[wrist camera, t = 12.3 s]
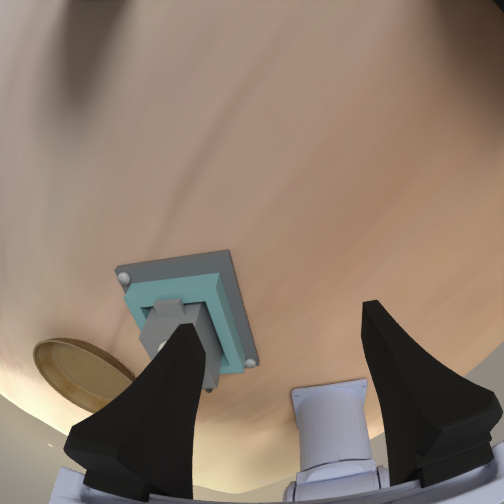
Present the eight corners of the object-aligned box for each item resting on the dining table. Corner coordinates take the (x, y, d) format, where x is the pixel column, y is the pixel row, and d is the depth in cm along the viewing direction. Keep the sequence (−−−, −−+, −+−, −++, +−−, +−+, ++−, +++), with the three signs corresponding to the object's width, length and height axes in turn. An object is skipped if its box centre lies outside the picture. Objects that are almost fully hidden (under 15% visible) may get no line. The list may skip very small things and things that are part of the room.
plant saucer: (41, 367, 33) (33, 381, 31) (44, 302, 26) (32, 318, 24) (134, 415, 37) (130, 431, 34) (168, 368, 30) (162, 388, 28)
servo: (233, 371, 28) (228, 417, 24) (193, 373, 28) (184, 416, 24) (199, 279, 23) (184, 328, 18) (150, 285, 23) (128, 331, 19)
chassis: (259, 360, 28) (258, 381, 26) (168, 365, 29) (162, 384, 27) (229, 249, 22) (225, 268, 20) (117, 265, 23) (105, 283, 21)
